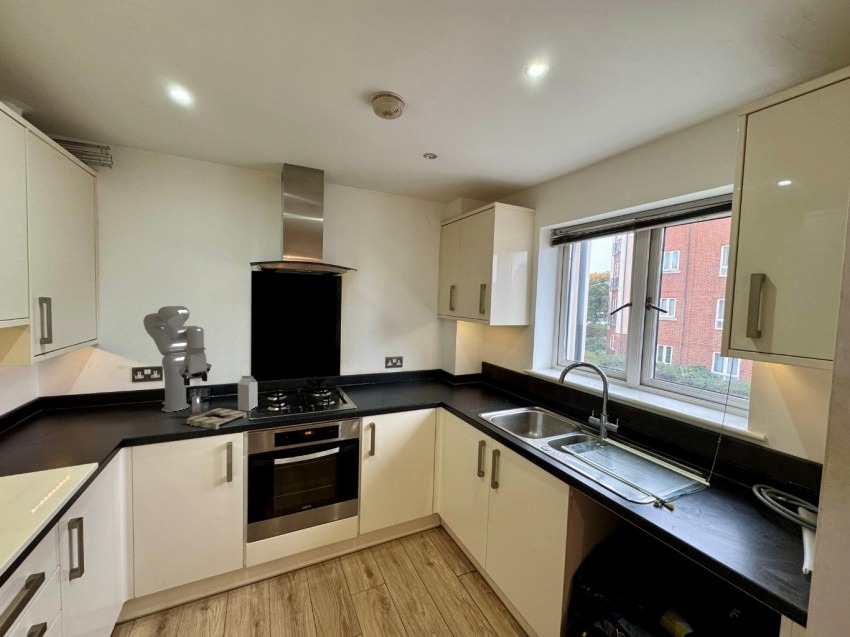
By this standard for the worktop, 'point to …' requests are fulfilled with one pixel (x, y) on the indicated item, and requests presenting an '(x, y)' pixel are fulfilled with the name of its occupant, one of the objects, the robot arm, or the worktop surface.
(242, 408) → the milk carton
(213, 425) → the keyhole plate
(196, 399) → the peg
